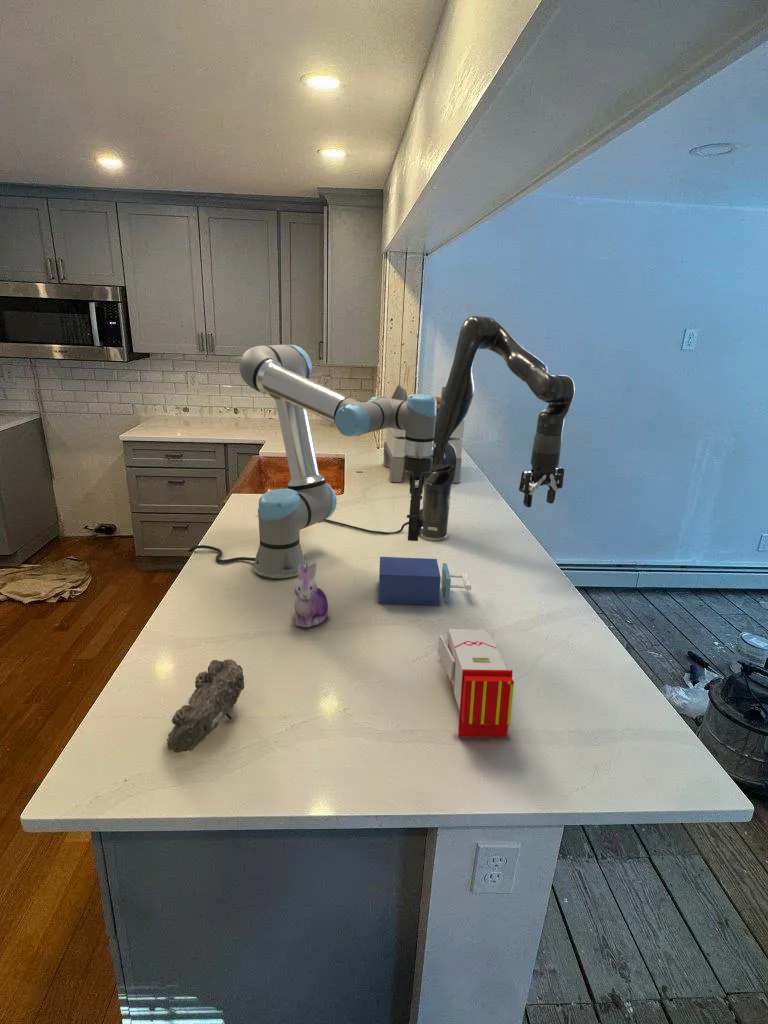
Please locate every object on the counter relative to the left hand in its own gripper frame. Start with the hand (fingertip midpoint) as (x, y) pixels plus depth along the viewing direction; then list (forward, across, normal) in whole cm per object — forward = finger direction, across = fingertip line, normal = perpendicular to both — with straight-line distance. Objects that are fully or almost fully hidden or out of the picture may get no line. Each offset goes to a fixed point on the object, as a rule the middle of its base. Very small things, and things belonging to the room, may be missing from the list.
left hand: (413, 531), depth 155 cm
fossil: (+18, -58, +36) cm, 71 cm away
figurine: (+18, -20, +24) cm, 36 cm away
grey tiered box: (+18, +122, -2) cm, 123 cm away
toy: (+18, -44, -14) cm, 50 cm away
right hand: (-6, +11, -35) cm, 37 cm away
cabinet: (+18, -3, 0) cm, 18 cm away
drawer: (+17, -3, -6) cm, 18 cm away
